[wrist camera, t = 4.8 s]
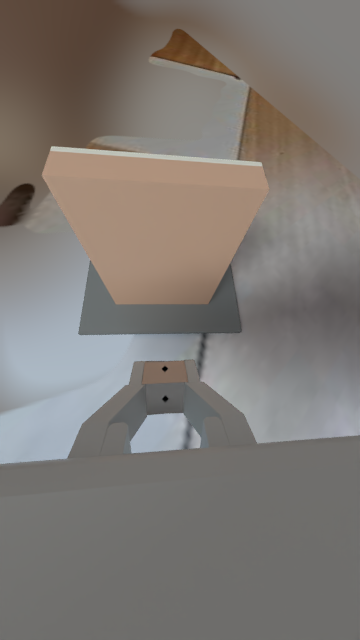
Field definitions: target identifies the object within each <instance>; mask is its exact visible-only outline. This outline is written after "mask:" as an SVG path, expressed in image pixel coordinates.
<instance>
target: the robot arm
mask: <svg viewBox="0 0 360 640" xmlns="http://www.w3.org/2000/svg"><path fill="white" fill-rule="evenodd" d="M164 413H184V415H185V416H186V418H187V419H188V420H189V422H190V423H191V424H192V426H193V427H194V428H195V430H196V431H197V432H198V434H199V435H200V436H201V445H200V448H196V449H183V450H171V451H158V452H145V453H133V454H131V446H130V441H131V440H132V438H133V437H134V435H135V434H136V432H137V431H138V429H139V428H140V426H141V425H142V423H143V422H144V420H145V419H146V417H147V415H153V414H164ZM0 640H360V435H358V436H346V437H333V438H320V439H308V440H295V441H283V442H270V443H258V444H257V442H256V440H255V438H254V435H253V433H252V431H251V429H250V427H249V425H248V423H247V420H246V418H245V416H244V414H243V413H242V412H240V411H239V410H238V409H237V408H235V407H234V406H233V405H232V404H230V403H229V402H228V401H227V400H225V399H224V398H223V397H222V396H220V395H219V394H218V393H217V392H215V391H214V390H213V389H212V388H210V387H209V386H208V385H207V384H205V383H204V382H200V378H199V375H198V371H197V367H196V364H195V361H194V360H184V361H138V362H134V364H133V369H132V373H131V377H130V382H129V385H125V386H124V387H123V388H122V389H121V390H120V391H119V392H118V393H116V394H115V395H114V396H113V397H112V398H111V399H110V400H109V401H107V402H106V403H105V404H104V405H103V406H102V407H101V408H100V409H98V410H97V411H96V412H95V413H94V414H93V415H92V416H91V417H90V418H88V419H87V420H86V421H85V422H84V423H83V424H82V426H81V428H80V430H79V433H78V435H77V437H76V440H75V442H74V444H73V446H72V449H71V451H70V453H69V456H68V458H67V459H57V460H45V461H32V462H20V463H7V464H0Z"/></svg>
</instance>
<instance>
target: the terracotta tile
mask: <svg viewBox="0 0 360 640" xmlns="http://www.w3.org/2000/svg"><path fill="white" fill-rule="evenodd" d="M42 177H43V178H44V180H45V182H46V183H47V185H48V187H49V189H50V191H51V192H52V194H53V196H54V197H55V199H56V201H57V203H58V204H59V206H60V208H61V210H62V211H63V213H64V215H65V217H66V218H67V220H68V222H69V224H70V225H71V227H72V229H73V231H74V232H75V234H76V236H77V237H78V239H79V241H80V243H81V244H82V246H83V248H84V250H85V251H86V253H87V255H88V257H89V258H90V260H91V262H92V264H93V265H94V267H95V269H96V271H97V272H98V274H99V276H100V278H101V279H102V281H103V283H104V284H105V286H106V288H107V290H108V291H109V293H110V295H111V297H112V298H113V300H114V302H115V304H209V302H210V300H211V298H212V296H213V294H214V292H215V291H216V289H217V287H218V285H219V283H220V281H221V279H222V277H223V276H224V274H225V272H226V270H227V268H228V266H229V264H230V262H231V260H232V259H233V257H234V255H235V253H236V251H237V249H238V247H239V245H240V244H241V242H242V240H243V238H244V236H245V234H246V232H247V230H248V229H249V227H250V225H251V223H252V221H253V219H254V217H255V215H256V214H257V212H258V210H259V208H260V206H261V204H262V202H263V200H264V198H265V197H266V195H267V193H268V191H269V186H268V183H267V180H266V177H265V174H264V170H263V167H262V164H261V162H251V161H237V160H224V159H211V158H198V157H185V156H172V155H158V154H145V153H132V152H119V151H106V150H93V149H79V148H66V147H53V146H52V147H51V150H50V153H49V156H48V159H47V162H46V165H45V167H44V170H43V173H42Z"/></svg>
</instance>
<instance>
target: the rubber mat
mask: <svg viewBox="0 0 360 640" xmlns="http://www.w3.org/2000/svg"><path fill="white" fill-rule="evenodd" d="M239 332H241V325H240V319H239V313H238V307H237V301H236V295H235V289H234V283H233V277H232V271H231V265H230V264H229V266H228V268H227V270H226V272H225V274H224V276H223V277H222V279H221V281H220V283H219V285H218V287H217V289H216V291H215V292H214V294H213V296H212V298H211V300H210V302H209V304H115V302H114V300H113V298H112V297H111V295H110V293H109V291H108V290H107V288H106V286H105V284H104V283H103V281H102V279H101V278H100V276H99V274H98V272H97V271H96V269H95V267H94V265H93V264H92V262H91V260H90V265H89V271H88V277H87V284H86V290H85V296H84V302H83V309H82V315H81V321H80V327H79V333H78V334H79V335H107V334H108V335H109V334H175V333H239Z"/></svg>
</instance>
